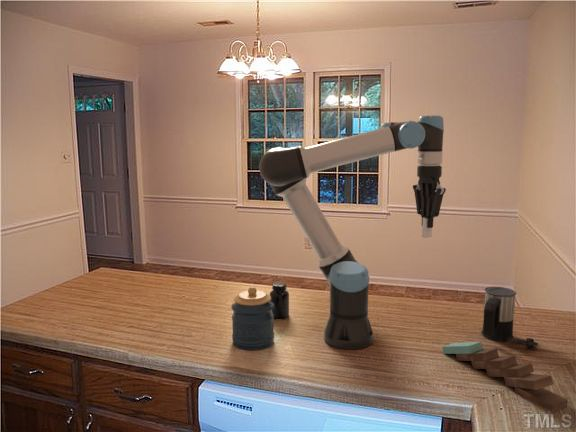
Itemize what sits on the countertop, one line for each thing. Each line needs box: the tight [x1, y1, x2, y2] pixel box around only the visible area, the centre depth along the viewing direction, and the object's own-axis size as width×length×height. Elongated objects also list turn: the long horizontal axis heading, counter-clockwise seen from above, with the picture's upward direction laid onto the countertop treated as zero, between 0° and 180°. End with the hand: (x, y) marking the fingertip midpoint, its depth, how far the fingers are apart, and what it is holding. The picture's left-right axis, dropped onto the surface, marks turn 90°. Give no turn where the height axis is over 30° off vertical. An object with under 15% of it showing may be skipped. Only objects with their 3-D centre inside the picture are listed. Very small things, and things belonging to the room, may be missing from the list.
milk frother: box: [481, 286, 539, 348], centre depth 146 cm, size 14×16×15 cm
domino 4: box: [485, 363, 535, 378], centre depth 123 cm, size 2×5×10 cm
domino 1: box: [441, 341, 484, 355], centre depth 135 cm, size 2×5×10 cm
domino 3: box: [471, 355, 518, 370], centre depth 127 cm, size 2×5×10 cm
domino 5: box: [503, 373, 554, 390], centre depth 116 cm, size 2×5×10 cm
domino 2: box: [455, 348, 499, 362], centre depth 132 cm, size 2×5×10 cm
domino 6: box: [514, 387, 569, 413], centre depth 115 cm, size 2×5×10 cm
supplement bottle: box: [269, 281, 290, 320], centre depth 167 cm, size 7×7×12 cm
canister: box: [230, 286, 275, 351], centre depth 146 cm, size 13×13×18 cm
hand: (426, 237), depth 157 cm, fingers closed
